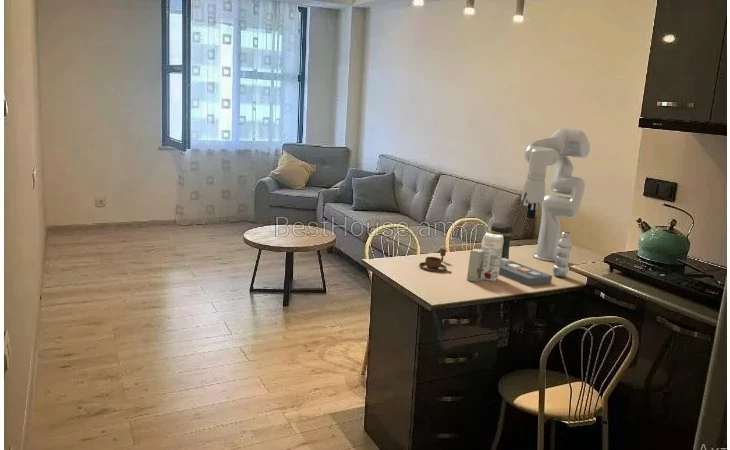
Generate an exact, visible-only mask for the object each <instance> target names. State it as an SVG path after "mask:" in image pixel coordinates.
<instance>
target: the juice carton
mask: <svg viewBox="0 0 730 450" xmlns="http://www.w3.org/2000/svg"><path fill="white" fill-rule="evenodd" d="M503 243H504V240H503V235H494V234H491V232H485V234H483V236H482V241H481V247H480V250H484V257H483V265H482V272H481V280H483V281H490V282H496V280H497V279H498V277H499V275H500V274H499V272H500V265H501V258H502V251H503Z"/></svg>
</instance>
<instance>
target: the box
mask: <svg viewBox="0 0 730 450" xmlns="http://www.w3.org/2000/svg"><path fill="white" fill-rule="evenodd" d="M469 254H470V255H469V261H468V269H467V274H466V276H467V277H466V280H467V281H469V282H474V283H477V282H479V281H481V280H482V279H481V272H482V265H483V257H484V250H481V249H478V248H473V249H471V250H470V253H469Z"/></svg>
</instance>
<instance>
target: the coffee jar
mask: <svg viewBox="0 0 730 450" xmlns="http://www.w3.org/2000/svg"><path fill="white" fill-rule="evenodd" d="M490 233H491V234H494V235H503V240H504V243H503V251H502V258H506V259H509V260H510V242H511V237H512V235H513V226H511V225H509V224H505V223H501V222H493V223H492V224H491V228H490Z"/></svg>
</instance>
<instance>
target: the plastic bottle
mask: <svg viewBox="0 0 730 450" xmlns="http://www.w3.org/2000/svg"><path fill="white" fill-rule="evenodd" d="M571 234H572V233H571V232H568V231H561V235H560V237H559V240H558V242H557V256H556V261H554V265H553V268H552V273H553V275H554V276H556V277H558V278H559V277H560V278H566V277H567V276H568V274H569V259H570V254H571V250H572V247H573V243H572V241H571V237H572V236H571Z"/></svg>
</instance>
